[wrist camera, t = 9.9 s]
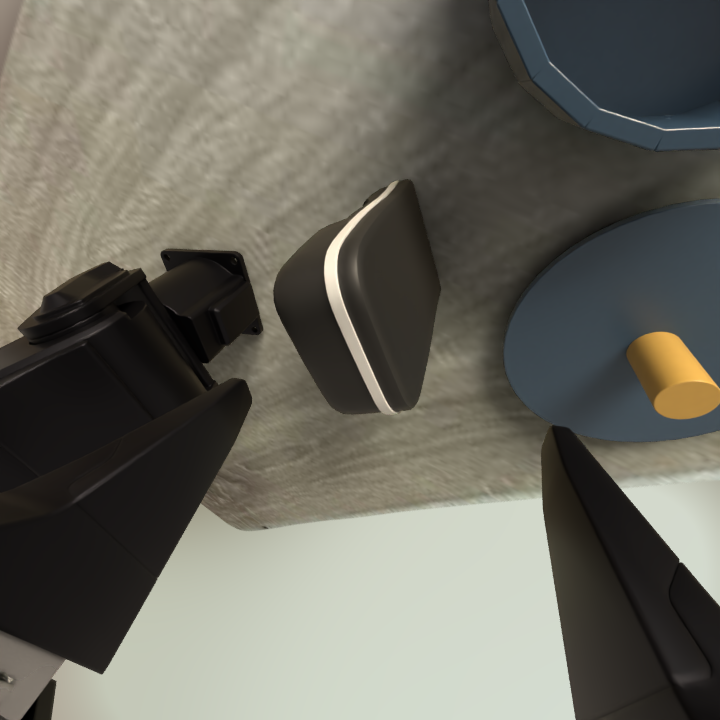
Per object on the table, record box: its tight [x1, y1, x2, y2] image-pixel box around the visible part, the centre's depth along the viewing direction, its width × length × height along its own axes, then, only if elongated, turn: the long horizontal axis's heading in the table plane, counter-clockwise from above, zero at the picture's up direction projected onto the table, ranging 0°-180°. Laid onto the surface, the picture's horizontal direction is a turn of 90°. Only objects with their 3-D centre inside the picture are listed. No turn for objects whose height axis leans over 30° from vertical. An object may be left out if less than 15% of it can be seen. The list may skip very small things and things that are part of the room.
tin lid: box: [503, 199, 720, 442], centre depth 17 cm, size 15×15×5 cm
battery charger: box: [273, 179, 441, 415], centre depth 16 cm, size 7×4×11 cm, turn 22°
